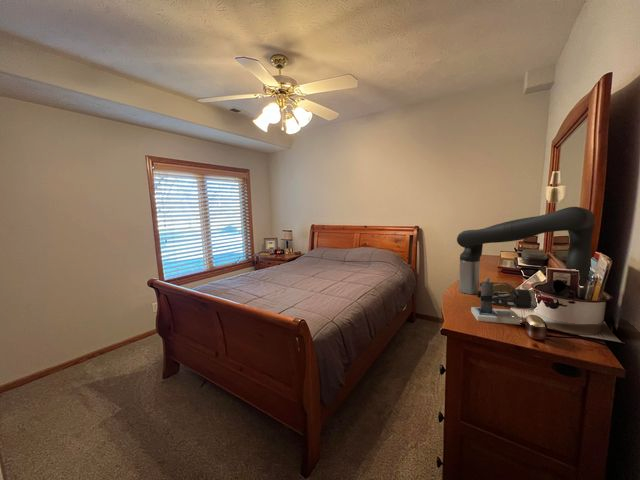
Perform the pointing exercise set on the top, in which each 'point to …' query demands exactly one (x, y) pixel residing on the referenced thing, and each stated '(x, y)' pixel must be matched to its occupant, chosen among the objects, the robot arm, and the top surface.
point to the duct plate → (496, 316)
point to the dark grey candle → (486, 291)
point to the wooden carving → (503, 287)
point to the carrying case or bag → (490, 282)
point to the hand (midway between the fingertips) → (479, 296)
